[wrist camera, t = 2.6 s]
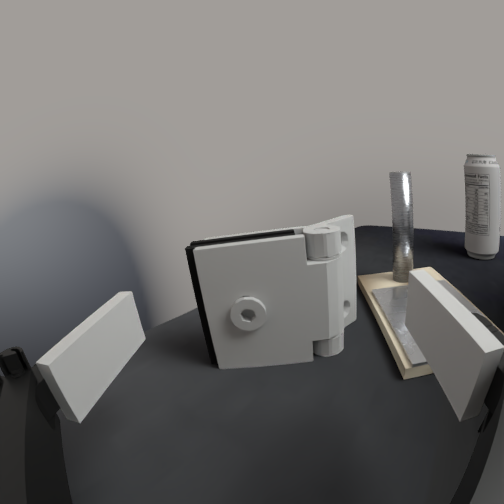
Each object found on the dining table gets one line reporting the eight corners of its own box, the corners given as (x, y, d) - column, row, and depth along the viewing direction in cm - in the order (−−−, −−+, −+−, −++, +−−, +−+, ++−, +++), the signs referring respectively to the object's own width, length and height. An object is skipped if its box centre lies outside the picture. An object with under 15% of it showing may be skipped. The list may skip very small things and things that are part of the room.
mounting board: (430, 274, 33) (430, 266, 33) (507, 350, 16) (510, 340, 16) (357, 283, 35) (357, 275, 34) (403, 379, 18) (405, 368, 17)
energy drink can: (504, 257, 32) (506, 156, 29) (480, 263, 33) (480, 154, 29) (481, 246, 38) (481, 155, 34) (457, 251, 38) (455, 154, 34)
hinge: (352, 316, 28) (349, 213, 25) (380, 343, 23) (383, 224, 20) (210, 348, 26) (186, 240, 23) (213, 385, 21) (182, 259, 18)
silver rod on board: (431, 270, 32) (430, 170, 28) (506, 342, 16) (527, 184, 13) (364, 279, 33) (358, 174, 30) (412, 367, 17) (423, 185, 14)
